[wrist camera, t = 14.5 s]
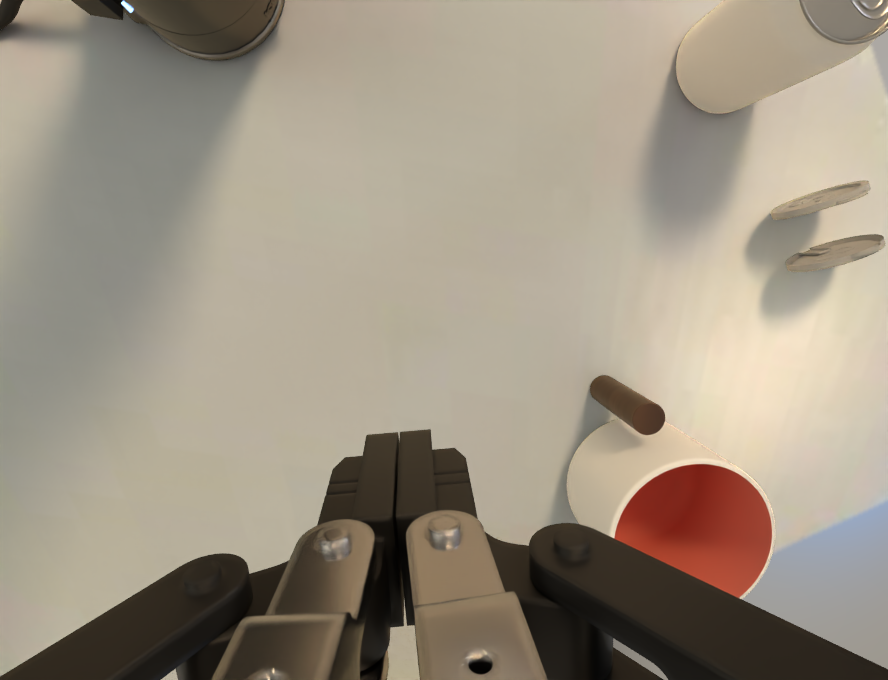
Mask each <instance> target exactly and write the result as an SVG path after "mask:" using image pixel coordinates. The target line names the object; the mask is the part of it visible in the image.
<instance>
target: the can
mask: <svg viewBox="0 0 888 680" xmlns="http://www.w3.org/2000/svg"><path fill="white" fill-rule="evenodd" d="M887 30H888V0H724V1H723V2H721V3H720V4H719V5H718V6H716V7H715V8H714V9H713V10H712V11H710V12H709V13H708V14H707V15H706V16H704V17H703V18H702V19H701V20H700V21H699V22H697V23H696V24H695V25H694V26H693V27H692V28H691V29H690V30H689V31H688V33H687V34H686V35H685V37H684V39H683V40H682V42H681V45H680V47H679V50H678V54H677V59H676V74H677V79H678V82H679V85H680V88H681V90H682V92H683V93H684V95H685V96H686V98H687V99H688V100H689V101H690V102H691V103H692V104H693V105H695V106H696V107H698V108H699V109H701V110H703V111H706V112H709V113H715V114H724V113H730V112H733V111H736V110H739V109H741V108H743V107H746V106H748V105H750V104H753V103H755V102H757V101H759V100H762V99H764V98H766V97H768V96H771V95H773V94H775V93H777V92H779V91H782V90H784V89H786V88H788V87H791V86H793V85H795V84H797V83H799V82H802V81H804V80H806V79H808V78H810V77H813V76H815V75H817V74H819V73H821V72H824V71H826V70H828V69H830V68H832V67H834V66H836V65H839V64H841V63H843V62H845V61H847V60H849V59H851V58H853V57H854V56H856V55H858V54H859V53H861V52H862V51H863V50H865V49H866V48H867V47H868V46H869V45H870V44H871V43H872V42H873V41H874V40H875V39H876V38H877V37H878V36H880V35H881V34H883V33H884V32H885V31H887Z"/></svg>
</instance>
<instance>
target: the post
mask: <svg viewBox="0 0 888 680" xmlns="http://www.w3.org/2000/svg"><path fill="white" fill-rule="evenodd" d="M590 393H591V395H592V397H593V398H594V399H595V400H596V401H598V402H599V403H600V404H602V405H603V406H604V407H606V408H607V409H608V410H610V411H611V412H612V413H613V414H615V415H616V416H617V417H619V418H620V419H621V420H623V421H624V422H625V423H627V424H628V425H629V426H631V427H632V428H633V429H635V430H636V431H637V432H639V433H640V434H643V435H652V434H655V433H657V432H658V431H659V430H660V429H661V428H662V427H663V425H664V422H665V414H664V411H663V409H662V408H661V407H660V406H659V405H657V404H656V403H654V402H652V401H650V400H649V399H647V398H645V397H644V396H642V395H640V394H639V393H637V392H635V391H633V390H632V389H630V388H628V387H627V386H625V385H623V384H622V383H620V382H618V381H616V380H615V379H613V378H611V377H609V376H606V375H603V376H599V377H597V378H596V379H594V380H593V382H592V384H591V386H590Z"/></svg>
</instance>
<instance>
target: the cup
mask: <svg viewBox="0 0 888 680" xmlns="http://www.w3.org/2000/svg"><path fill="white" fill-rule="evenodd" d="M567 494H568V500H569V504H570V507H571V509H572V512H573V514H574V516H575V518H576V519H577V521H578V523H579V524H580V525H584V526H588V527H590V528H593V529H595V530H597V531H600V532H602V533H604V534H606V535H608V536H610V537H612V538H614V539H616V540H618V541H620V542H623V543H625V544H627V545H629V546H631V547H633V548H635V549H637V550H639V551H641V552H643V553H646V554H648V555H650V556H652V557H654V558H656V559H658V560H660V561H662V562H664V563H666V564H668V565H671V566H673V567H675V568H677V569H679V570H681V571H683V572H685V573H687V574H689V575H691V576H694V577H696V578H698V579H700V580H702V581H704V582H706V583H708V584H710V585H712V586H714V587H717V588H719V589H721V590H723V591H725V592H727V593H729V594H731V595H733V596H735V597H737V598H740V599H742V598H744V597H745V596H746V595H747V594H748V593H749V592H750V591H751V590H752V589H753V588H754V587H755V586H756V584H757V583H758V582H759V580H760V579H761V577H762V576H763V574H764V573H765V571H766V569H767V567H768V564H769V562H770V560H771V556H772V553H773V549H774V544H775V534H776V532H775V519H774V514H773V511H772V507H771V504H770V502H769V500H768V498H767V496H766V494H765V493H764V491H763V489H762V488H761V487H760V486H759V484H758V483H757V482H756V481H755V480H754V479H753V478H752V477H751V476H750V475H749V474H747V473H746V472H744V471H743V470H742V469H740V468H738V467H737V466H735V465H734V464H732V463H731V462H729V461H727V460H726V459H724V458H723V457H721V456H720V455H718V454H716V453H715V452H713V451H712V450H710V449H708V448H707V447H705V446H704V445H702V444H701V443H699V442H697V441H696V440H694V439H693V438H691V437H690V436H688V435H686V434H685V433H683V432H682V431H680V430H679V429H677V428H675V427H674V426H672V425H670V424H668V423H666V422H664V425H663V427H662V428H661V429H660V430H659V431H658V432H657V433H655V434H652V435H643V434H640V433H639V432H637V431H636V430H635V429H633V428H632V427H631V426H629V425H628V424H627V423H625V422H624V421H623V420H621V419H616V420H613V421H611V422H608V423H606V424H604V425H602V426H601V427H599V428H597V429H596V430H595V431H593V432H592V433H591V434H590V435H589V436H588V437H587V438H586V439H585V440H584V441H583V442H582V443H581V445H580V446H579V447H578V449H577V451H576V452H575V454H574V456H573V458H572V461H571V463H570V466H569V470H568V475H567Z"/></svg>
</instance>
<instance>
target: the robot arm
mask: <svg viewBox="0 0 888 680" xmlns="http://www.w3.org/2000/svg"><path fill="white" fill-rule="evenodd" d="M72 1H73V2H74V3H76V4H77V5H78V6H79V7H81V8H82V9H83V10H85V11H86V12H87V13H89V14H90V15H94V16H100V17H107V18H113V19H119V20H123V12H124V13H125V14H127V15H128V16H129V17H130V18H131V19H132V20H134V21H135V22H137V23H142V24H147V25H149V26H150V27H151V28H152V30H153V31H154V32H155V33H156V34H157V35H158V36H160V37H161V38H162V39H163V40H164V41H165V42H167V43H168V44H169V45H171V46H172V47H174V48H175V49H177V50H179V51H180V52H182V53H184V54H187V55H189V56H192V57H195V58H199V59H204V60H227V59H232V58H235V57H238V56H241V55H243V54H246V53H248V52H249V51H251V50H253V49H254V48H256V47H257V46H258V45H260V44H261V43H262V42H263V41H264V40H265V39H266V38H267V37H268V35H269V34H270V33H271V31H272V30H273V28H274V27H275V25H276V23H277V21H278V19H279V17H280V14H281V11H282V8H283V3H284V0H72ZM22 2H23V0H2V1H1V4H0V30H1V29H3V28H4V27H6V26H7V25H8V24H10V23H11V22H12V21H13V20H14V18H15V17H16V15H17V13H18V11H19V8H20V5H21V3H22ZM404 600H405V609H406V619H407V625H415V634H416V645H417V655H418V665H419V675H420V680H663V679H662V678H660V677H659V676H657V675H656V674H654V673H652V672H651V671H649V670H648V669H646V668H645V667H643V666H641V665H640V664H638V663H637V662H635V661H634V660H632V659H631V658H629V657H627V656H626V655H624V654H623V653H621V652H620V651H618V650H616V649H615V648H613V638H615V639H616V640H618V641H619V642H621V643H622V644H624V645H626V646H627V647H629V648H630V649H632V650H634V651H635V652H637V653H639V654H640V655H642V656H643V657H645V658H646V659H648V660H650V661H651V662H652V663H654V664H655V665H656V666H658V667H659V668H660V669H661V671H662V672H663V673H664V674H665V675H666V677H667V678H668V680H888V669H886V668H884V667H881V666H879V665H877V664H875V663H873V662H871V661H869V660H867V659H865V658H863V657H861V656H858V655H857V654H854V653H852V652H850V651H848V650H846V649H844V648H842V647H840V646H838V645H836V644H833V643H831V642H829V641H827V640H825V639H823V638H821V637H819V636H817V635H815V634H813V633H810V632H808V631H806V630H804V629H802V628H800V627H798V626H796V625H794V624H792V623H790V622H787V621H785V620H783V619H781V618H779V617H777V616H775V615H773V614H771V613H769V612H766V611H765V610H762V609H760V608H758V607H756V606H754V605H752V604H750V603H748V602H745V601H744V600H742V599H740V598H737V597H735V596H733V595H731V594H729V593H727V592H725V591H723V590H721V589H719V588H717V587H714V586H712V585H710V584H708V583H706V582H704V581H702V580H700V579H698V578H696V577H694V576H691V575H689V574H687V573H685V572H683V571H681V570H679V569H677V568H675V567H673V566H671V565H668V564H666V563H664V562H662V561H660V560H658V559H656V558H654V557H652V556H650V555H648V554H646V553H643V552H641V551H639V550H637V549H635V548H633V547H631V546H629V545H627V544H625V543H623V542H620V541H618V540H616V539H614V538H612V537H610V536H608V535H606V534H604V533H602V532H600V531H597V530H595V529H593V528H590V527H588V526H584V525H580V524H572V523H561V524H554V525H550V526H547V527H544V528H542V529H540V530H539V531H537V532H536V533H535V534H534V535H533V536H532V538H531V540H530V543H529V546H526V545H518V544H512V543H507V542H503V541H500V540H498V539H495V538H493V537H492V536H490V535H488V534H487V533H486V532H485V531H484V528H483V526H482V524H481V522H480V521H479V520H478V518H477V513H476V508H475V503H474V498H473V493H472V488H471V483H470V478H469V473H468V467H467V462H466V458H465V457H464V456H463V455H462V454H461V453H460V452H459V451H457V450H456V449H455V448H448V449H437V450H432V442H431V430H418V431H406V432H400V443H399V436H398V432H395V433H384V434H372V435H367V436H366V441H365V446H364V452H363V456H357V457H345V458H344V459H343V460H342V461H341V462H340V463H339V464H338V465H337V466H336V467H335V468H334V469H333V471H332V474H331V478H330V481H329V485H328V489H327V492H326V496H325V499H324V503H323V507H322V510H321V514H320V517H319V521H318V525H317V526H315V527H314V528H312V529H310V530H309V531H307V532H306V533H305V534H304V535H302V537H301V538H300V539H299V540H298V542H297V544H296V546H295V548H294V551H293V553H292V555H291V557H290V560H289V561H287V562H285V563H282V564H280V565H277V566H274V567H271V568H268V569H264V570H261V571H258V572H255V573H251V574H249V570H248V566H247V563H246V562H245V560H244V559H242V558H241V557H239V556H236V555H233V554H213V555H208V556H204V557H200V558H197V559H195V560H192V561H190V562H188V563H186V564H184V565H182V566H180V567H179V568H177V569H175V570H174V571H172V572H171V573H169V574H167V575H166V576H164V577H162V578H161V579H159V580H158V581H156V582H154V583H153V584H151V585H149V586H148V587H146V588H144V589H143V590H141V591H140V592H138V593H136V594H135V595H133V596H131V597H130V598H128V599H126V600H125V601H123V602H122V603H120V604H118V605H117V606H115V607H113V608H112V609H110V610H108V611H107V612H105V613H104V614H102V615H100V616H99V617H97V618H95V619H94V620H92V621H91V622H89V623H87V624H86V625H84V626H82V627H81V628H79V629H77V630H76V631H74V632H73V633H71V634H69V635H68V636H66V637H64V638H63V639H61V640H59V641H58V642H56V643H55V644H53V645H51V646H50V647H48V648H46V649H45V650H43V651H41V652H40V653H38V654H37V655H35V656H33V657H32V658H30V659H28V660H27V661H25V662H23V663H22V664H20V665H19V666H17V667H15V668H14V669H12V670H10V671H9V672H7V673H6V674H4V675H2V676H1V677H0V680H161V679H162V678H163V677H165V676H166V675H167V674H169V673H170V672H171V671H173V670H174V669H175V668H176V672H177V677H178V680H387V676H388V668H389V658H388V649H387V648H388V646H389V641H390V627H399V626H404Z"/></svg>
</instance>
